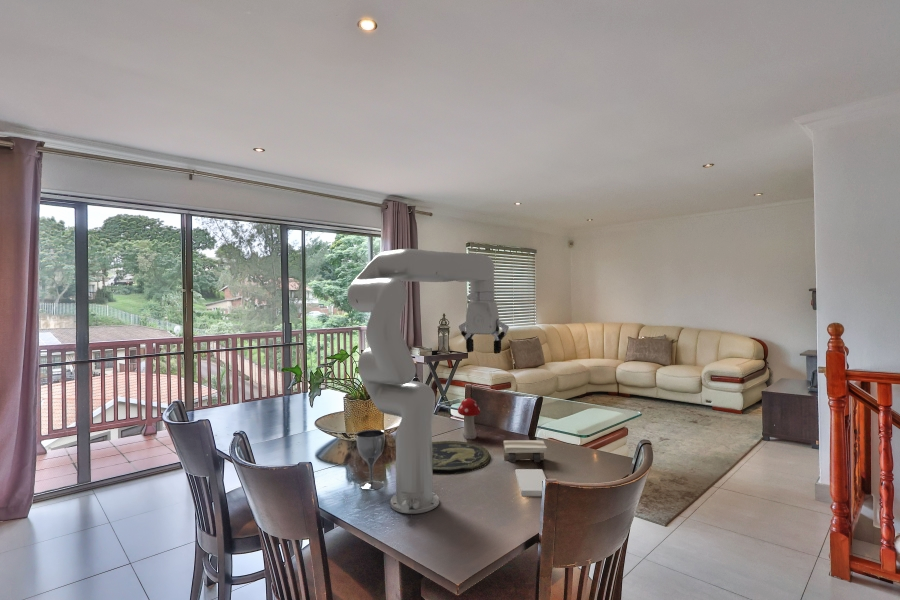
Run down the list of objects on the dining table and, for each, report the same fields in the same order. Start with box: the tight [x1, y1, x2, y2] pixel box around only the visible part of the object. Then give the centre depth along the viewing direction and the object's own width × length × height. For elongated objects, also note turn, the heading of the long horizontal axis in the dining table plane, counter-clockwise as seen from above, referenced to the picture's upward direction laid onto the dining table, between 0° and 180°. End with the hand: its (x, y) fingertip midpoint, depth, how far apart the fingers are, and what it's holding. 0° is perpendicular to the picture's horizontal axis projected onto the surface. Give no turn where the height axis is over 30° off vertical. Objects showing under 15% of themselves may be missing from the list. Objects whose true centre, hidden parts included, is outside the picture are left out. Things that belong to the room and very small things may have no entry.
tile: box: [514, 468, 547, 497], centre depth 132 cm, size 16×8×2 cm, turn 178°
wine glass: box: [356, 429, 386, 490], centre depth 133 cm, size 8×8×15 cm
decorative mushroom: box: [457, 397, 481, 440], centre depth 180 cm, size 10×9×15 cm
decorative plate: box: [432, 440, 491, 475], centre depth 156 cm, size 30×2×30 cm
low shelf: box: [503, 439, 548, 463], centre depth 150 cm, size 8×13×6 cm, turn 87°
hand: (483, 352), depth 146 cm, fingers open, 9 cm apart
